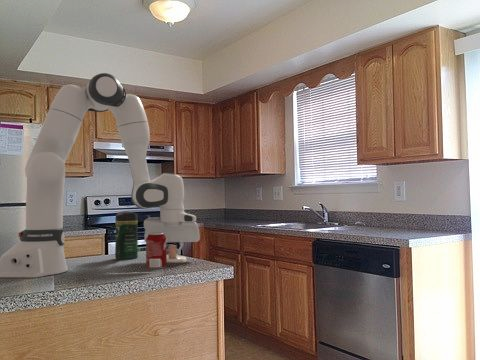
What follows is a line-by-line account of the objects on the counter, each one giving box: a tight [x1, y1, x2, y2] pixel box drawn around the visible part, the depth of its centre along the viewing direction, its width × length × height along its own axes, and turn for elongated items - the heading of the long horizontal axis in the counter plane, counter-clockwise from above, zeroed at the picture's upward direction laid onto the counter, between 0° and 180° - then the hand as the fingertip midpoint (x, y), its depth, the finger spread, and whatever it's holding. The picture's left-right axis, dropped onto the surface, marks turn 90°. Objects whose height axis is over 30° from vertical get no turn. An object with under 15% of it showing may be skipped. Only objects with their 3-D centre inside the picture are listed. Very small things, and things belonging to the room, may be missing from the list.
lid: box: [167, 244, 187, 264], centre depth 157 cm, size 10×10×5 cm
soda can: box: [145, 232, 168, 270], centre depth 144 cm, size 7×7×12 cm
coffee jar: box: [114, 210, 139, 261], centre depth 165 cm, size 10×8×19 cm
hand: (172, 254), depth 157 cm, fingers closed on lid, 3 cm apart
